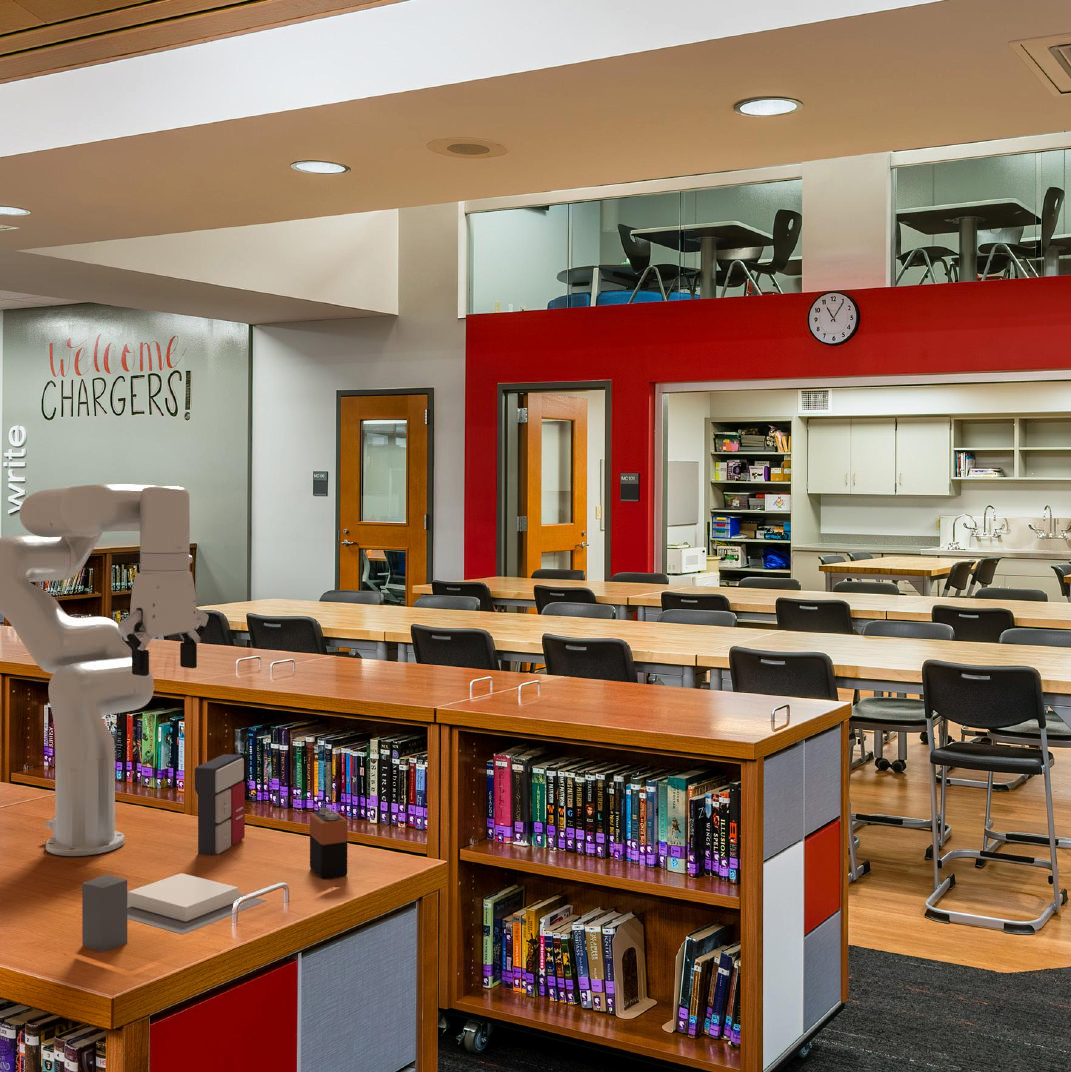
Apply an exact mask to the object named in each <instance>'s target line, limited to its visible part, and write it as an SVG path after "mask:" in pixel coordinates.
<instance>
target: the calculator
mask: <svg viewBox="0 0 1071 1072" xmlns="http://www.w3.org/2000/svg"><path fill="white" fill-rule="evenodd" d="M244 767H245V760H244V756H243V755H242V754H226V753H224V754H222V755H221V754H220V756H217V757H215V758H213V759H211V760H209V761H207V762H204V763H202V764H200V765H198V766H196V767H195V768H194V790H195V792H196V794H197V831H198V832H197V837H198V838H197V854H198V855H205V856H206V855H207V856H215V855H218V854H219V855H220V854H222V853H224V852H225V851H226V849H227V850H228V849H230V848H232V847H233V846H235V845H236V844H237V842H238V843H239V842H241V841H242V840H243V839H244V838H245V835H246V834H245V832H246V831H245V830H246V829H245V828H246V824H245V823H246V822H245V821H246V818H245V816H246V815H245V814H246V813H245V811H246V810H245V809H246V808H245V807H246V806H245V805H246V804H245V803H246V799H245V797H246V794H245V792H246V788H245V787H246V783H245V781H244V778H245V777H244V776H245V773H244V772H245V768H244ZM235 843H236V844H235ZM234 844H235V845H234ZM232 845H233V846H232ZM224 850H225V851H224ZM223 851H224V852H223Z"/></svg>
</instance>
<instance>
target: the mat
mask: <svg viewBox="0 0 1071 1072" xmlns="http://www.w3.org/2000/svg"><path fill="white" fill-rule="evenodd" d="M243 896H246V894H242V893H239V892H238V899H239V898H240V897H243ZM265 902H267V900H266V899H262V898H258V897H255V898H254V899H251V900H248V901H247V902H245V903H243V904H242V905H240V908H239V912H240V913H241V912H242V911H245V910H247V909H250V908H252V907H255V906H256V905H260V904H262V903H265ZM232 908H233V904H231V905H228V906H226V907H223V908H221V909H218V910H216V911H213V912H211V913H208V914H206V915H203V916H200V917H198V918H195V919H193V920H190V921H188V922H184V921H180V920H176V919H173V918H169V917H166V916H162V915H159V914H155V913H152V912H148V911H144V910H141V909H137V908H134V907H132V906H129V905H128V891H127V920H131V921H135V922H138V923H141V924H145V925H148V926H152V927H154V928H158V929H163V930H166V931H169V932H173V933H174V934H175V933H176V934H180V935H185V934H188V933H190V932H193V931H196V930H197V929H200V928H203V927H205V926H208V925H210V924H213V923H215V922H218V921H220V920H222V919H225V918H227V917H230V916H233V915H232ZM239 912H238V913H239Z"/></svg>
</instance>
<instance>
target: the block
mask: <svg viewBox="0 0 1071 1072" xmlns="http://www.w3.org/2000/svg"><path fill="white" fill-rule="evenodd" d="M81 883H82V885H81V886H82V888H81V889H82V891H81V896H82V903H81V906H82V913H81V914H82V915H81V916H82V924H81V925H82V934H81V935H82V938H81V939H82V941H81V942H82V947H83V948H87V949H90V950H93V951H96V952H100V953H106V952H108V951H110V950H112V949H115V948H117V947H120V946H123V945H125V944H127V943H128V919H127V892H128V879H125V878H122V877H119V876H118V877H117V876H113V875H110V874H105V875H103V876H99V877H96V878H93V879H90V880H87V881H84V882H81Z"/></svg>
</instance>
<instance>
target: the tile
mask: <svg viewBox="0 0 1071 1072" xmlns="http://www.w3.org/2000/svg"><path fill="white" fill-rule="evenodd" d="M127 892H128V905H129V906H132V907H134V908H137V909H141V910H144V911H148V912H152V913H155V914H159V915H162V916H166V917H169V918H173V919H176V920H180V921H184V922H188V921H190V920H193V919H195V918H198V917H200V916H203V915H206V914H208V913H211V912H213V911H216V910H218V909H221V908H223V907H226V906H228V905H231V904H233V903H234V901H235V900H237V899H238V893H239V886H234V885H231V884H225V883H222V882H218V881H214V880H210V879H207V878H203V877H199V876H198V877H197V876H195V875H190V874H187V873H183V872H182V873H181V872H180V873H178V874H175V875H172V876H169V877H166V878H164V879H160V880H157V881H154V882H152V883H149V884H146V885H143V886H140V887H138V888H134V889H131V890H129V891H128V890H127Z"/></svg>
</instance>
